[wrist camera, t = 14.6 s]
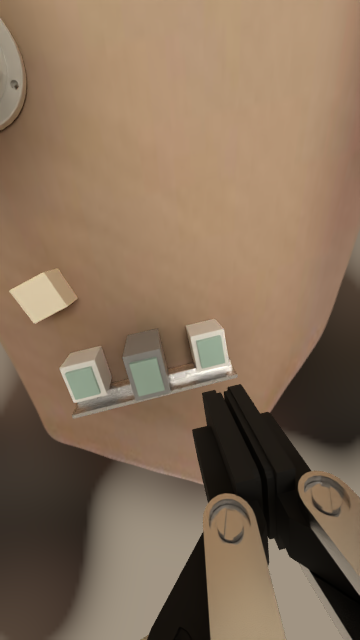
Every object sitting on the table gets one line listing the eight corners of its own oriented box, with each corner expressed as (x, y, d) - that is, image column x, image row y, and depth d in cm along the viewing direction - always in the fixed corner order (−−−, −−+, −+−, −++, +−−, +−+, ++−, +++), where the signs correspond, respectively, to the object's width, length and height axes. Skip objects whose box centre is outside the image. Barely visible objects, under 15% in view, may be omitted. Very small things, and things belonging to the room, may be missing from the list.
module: (127, 335, 39) (121, 359, 31) (157, 328, 39) (160, 350, 31) (138, 372, 41) (135, 403, 33) (167, 365, 42) (171, 395, 34)
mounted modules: (70, 353, 39) (57, 370, 33) (214, 318, 40) (224, 330, 35) (82, 384, 41) (72, 405, 35) (220, 350, 42) (230, 366, 37)
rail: (78, 390, 41) (69, 410, 36) (226, 354, 42) (236, 368, 37) (82, 400, 42) (74, 420, 37) (228, 364, 43) (238, 379, 38)
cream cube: (28, 284, 35) (8, 290, 30) (58, 268, 35) (43, 272, 30) (49, 313, 37) (34, 323, 32) (78, 298, 36) (67, 306, 32)
